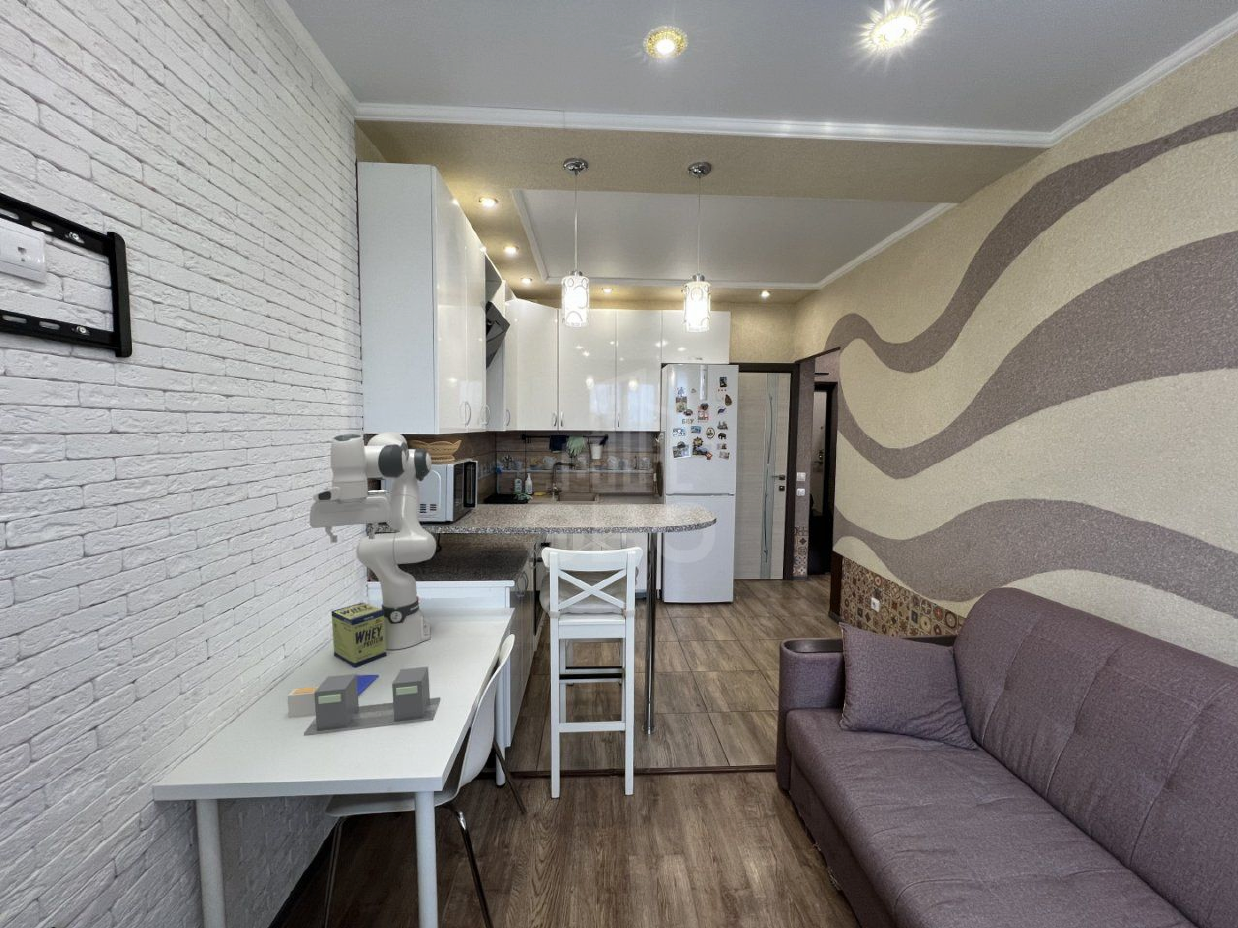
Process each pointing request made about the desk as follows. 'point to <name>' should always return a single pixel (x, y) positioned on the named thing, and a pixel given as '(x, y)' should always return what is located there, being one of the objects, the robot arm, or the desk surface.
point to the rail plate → (376, 717)
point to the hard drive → (365, 682)
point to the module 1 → (336, 701)
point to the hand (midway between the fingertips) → (353, 540)
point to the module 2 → (411, 693)
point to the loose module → (302, 702)
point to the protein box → (358, 634)
